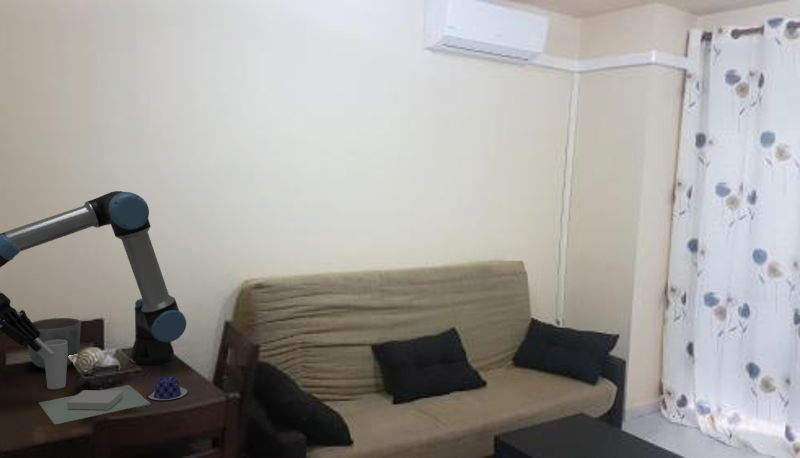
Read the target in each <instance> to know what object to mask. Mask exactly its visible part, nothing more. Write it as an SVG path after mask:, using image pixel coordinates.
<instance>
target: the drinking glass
mask: <svg viewBox="0 0 800 458" xmlns="http://www.w3.org/2000/svg"><path fill="white" fill-rule="evenodd" d="M44 344H45V345H46V346H47V347H48V348H50V349H51V350H52V351H53V352H54V353H53V354H52V355H51V356H50V357H49V358H48V359H47V360H44V363H45V371H44V372H45V377H46V388H47V389H48V390H58V389H59V390H60V389H62V388H65V387H66V386H67V371H68V370H67V368H68V365H67V358H68V345H67V341H66V340H51V341H47V342H45V343H44Z"/></svg>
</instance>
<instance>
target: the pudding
mask: <svg viewBox="0 0 800 458" xmlns="http://www.w3.org/2000/svg"><path fill="white" fill-rule="evenodd" d="M187 393H188V390H187V389H186V388H185V387H182V386H180V384H179V380H178V379H177V378H176V377H174V376H165V377H164V376H163V377H161V378H159V379H157V381H156V386H155V389H153V390H152V392H150V394H148V395H147V397H148V398H149V399H151V400H156V401H170V400H175V399H179V398H183V397H184V396H185V395H187Z"/></svg>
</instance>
